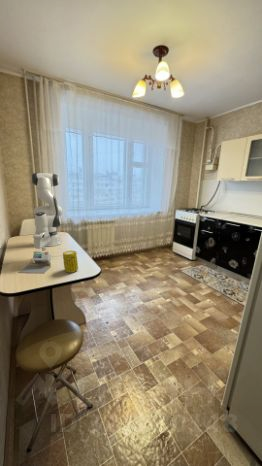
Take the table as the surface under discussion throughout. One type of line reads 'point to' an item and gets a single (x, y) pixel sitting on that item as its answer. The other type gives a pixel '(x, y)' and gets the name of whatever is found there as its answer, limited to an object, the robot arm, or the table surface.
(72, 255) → the food
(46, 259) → the light bulb box
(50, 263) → the rail
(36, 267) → the mat
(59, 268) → the table surface
